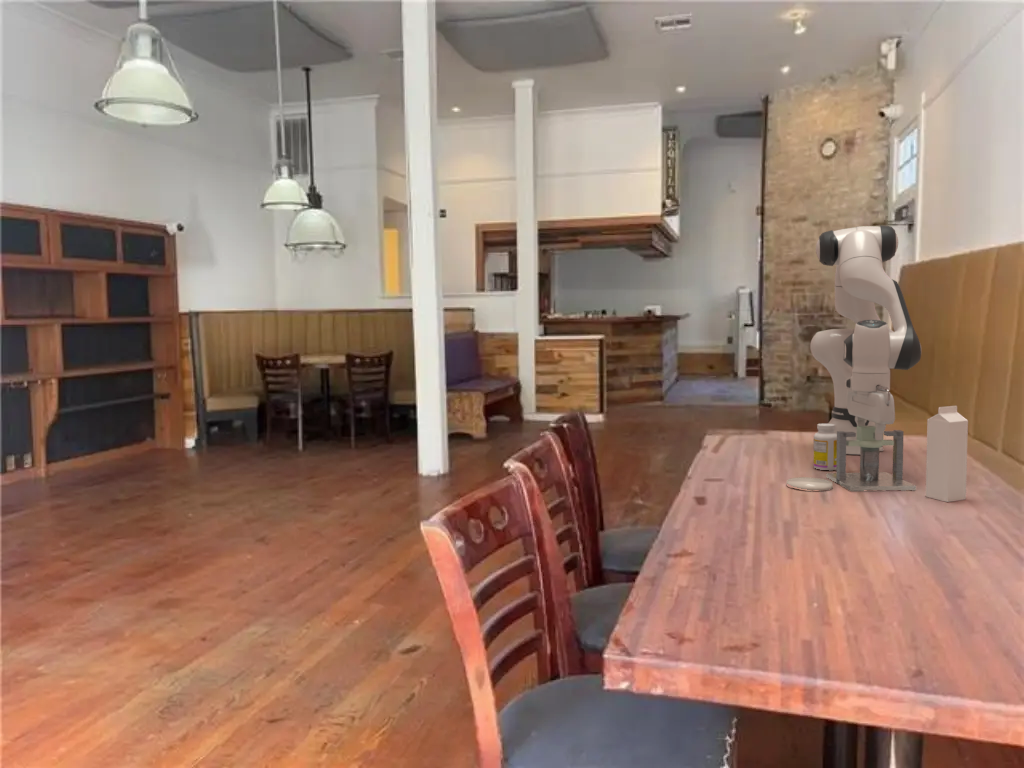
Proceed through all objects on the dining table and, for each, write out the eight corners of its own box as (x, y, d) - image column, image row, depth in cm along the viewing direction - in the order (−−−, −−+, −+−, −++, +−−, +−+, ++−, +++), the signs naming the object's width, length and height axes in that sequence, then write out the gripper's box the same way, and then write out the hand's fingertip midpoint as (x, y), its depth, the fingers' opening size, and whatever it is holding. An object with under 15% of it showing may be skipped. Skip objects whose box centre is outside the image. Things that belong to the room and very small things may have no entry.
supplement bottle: (834, 466, 216) (834, 422, 215) (842, 471, 209) (842, 426, 208) (810, 466, 217) (810, 423, 216) (817, 471, 210) (817, 426, 209)
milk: (925, 497, 179) (926, 405, 177) (943, 494, 181) (945, 404, 180) (948, 502, 174) (949, 408, 172) (966, 499, 176) (968, 406, 174)
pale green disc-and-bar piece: (842, 444, 196) (842, 425, 196) (886, 443, 196) (887, 424, 195) (852, 448, 190) (852, 428, 190) (897, 447, 190) (898, 427, 189)
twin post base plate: (826, 477, 202) (826, 427, 201) (886, 476, 202) (887, 425, 200) (850, 491, 186) (851, 436, 185) (915, 490, 186) (917, 435, 184)
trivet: (780, 482, 198) (780, 477, 198) (823, 481, 198) (823, 477, 198) (794, 491, 187) (794, 487, 187) (839, 491, 187) (839, 486, 187)
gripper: (902, 387, 181) (901, 443, 182) (866, 379, 201) (865, 430, 203) (876, 387, 181) (875, 444, 183) (842, 380, 202) (842, 431, 203)
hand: (869, 436), depth 193 cm, fingers open, 8 cm apart
